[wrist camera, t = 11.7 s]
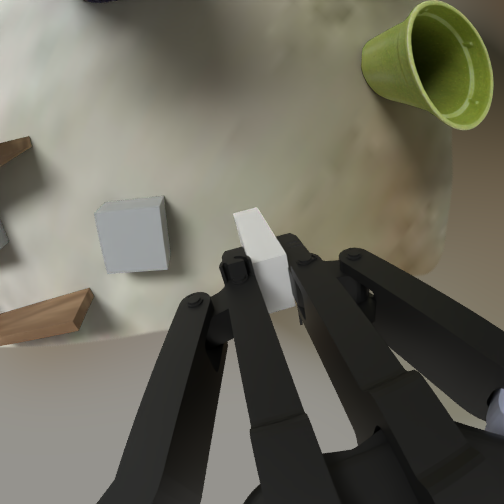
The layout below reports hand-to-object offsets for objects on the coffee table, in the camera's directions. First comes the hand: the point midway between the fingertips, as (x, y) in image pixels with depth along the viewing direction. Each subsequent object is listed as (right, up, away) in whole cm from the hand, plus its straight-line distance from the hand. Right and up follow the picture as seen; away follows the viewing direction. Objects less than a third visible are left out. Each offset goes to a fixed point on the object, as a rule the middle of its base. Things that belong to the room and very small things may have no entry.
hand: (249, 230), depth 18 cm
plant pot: (+12, +15, +2) cm, 19 cm away
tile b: (-9, +1, +5) cm, 10 cm away
